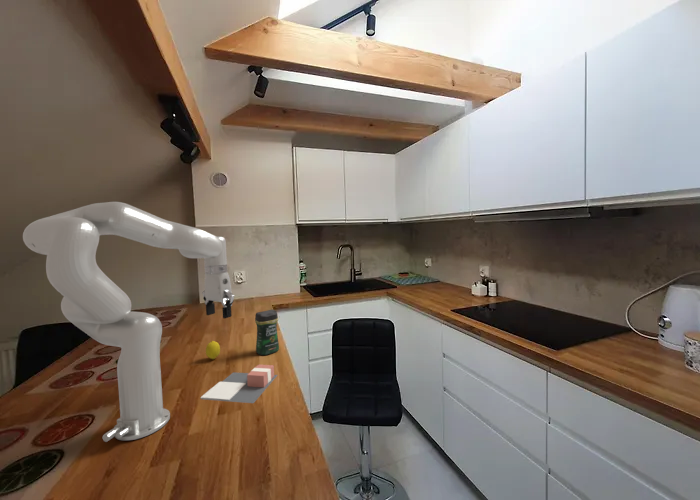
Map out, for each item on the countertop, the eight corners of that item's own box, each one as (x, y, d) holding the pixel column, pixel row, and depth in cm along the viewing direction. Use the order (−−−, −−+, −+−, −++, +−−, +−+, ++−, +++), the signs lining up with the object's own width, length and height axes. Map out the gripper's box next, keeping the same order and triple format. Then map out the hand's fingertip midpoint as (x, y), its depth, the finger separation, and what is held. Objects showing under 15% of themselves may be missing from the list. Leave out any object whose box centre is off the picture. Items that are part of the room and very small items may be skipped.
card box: (264, 387, 97) (263, 375, 97) (247, 386, 99) (246, 374, 98) (274, 376, 105) (273, 365, 105) (258, 375, 106) (258, 364, 106)
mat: (253, 404, 89) (253, 403, 88) (201, 400, 92) (200, 399, 92) (277, 376, 106) (277, 374, 106) (233, 373, 109) (233, 372, 109)
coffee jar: (262, 357, 123) (260, 314, 122) (253, 352, 129) (251, 311, 128) (282, 351, 130) (280, 310, 129) (273, 346, 135) (271, 307, 135)
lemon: (204, 359, 123) (203, 341, 122) (217, 355, 127) (216, 337, 126) (209, 363, 119) (208, 344, 119) (222, 358, 123) (221, 340, 123)
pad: (229, 400, 90) (229, 399, 90) (200, 398, 92) (200, 397, 92) (245, 384, 100) (245, 383, 100) (219, 382, 102) (219, 381, 102)
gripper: (240, 269, 105) (242, 316, 106) (211, 268, 114) (213, 310, 115) (222, 272, 98) (224, 321, 99) (192, 270, 107) (195, 315, 108)
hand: (218, 315), depth 107 cm, fingers open, 9 cm apart
